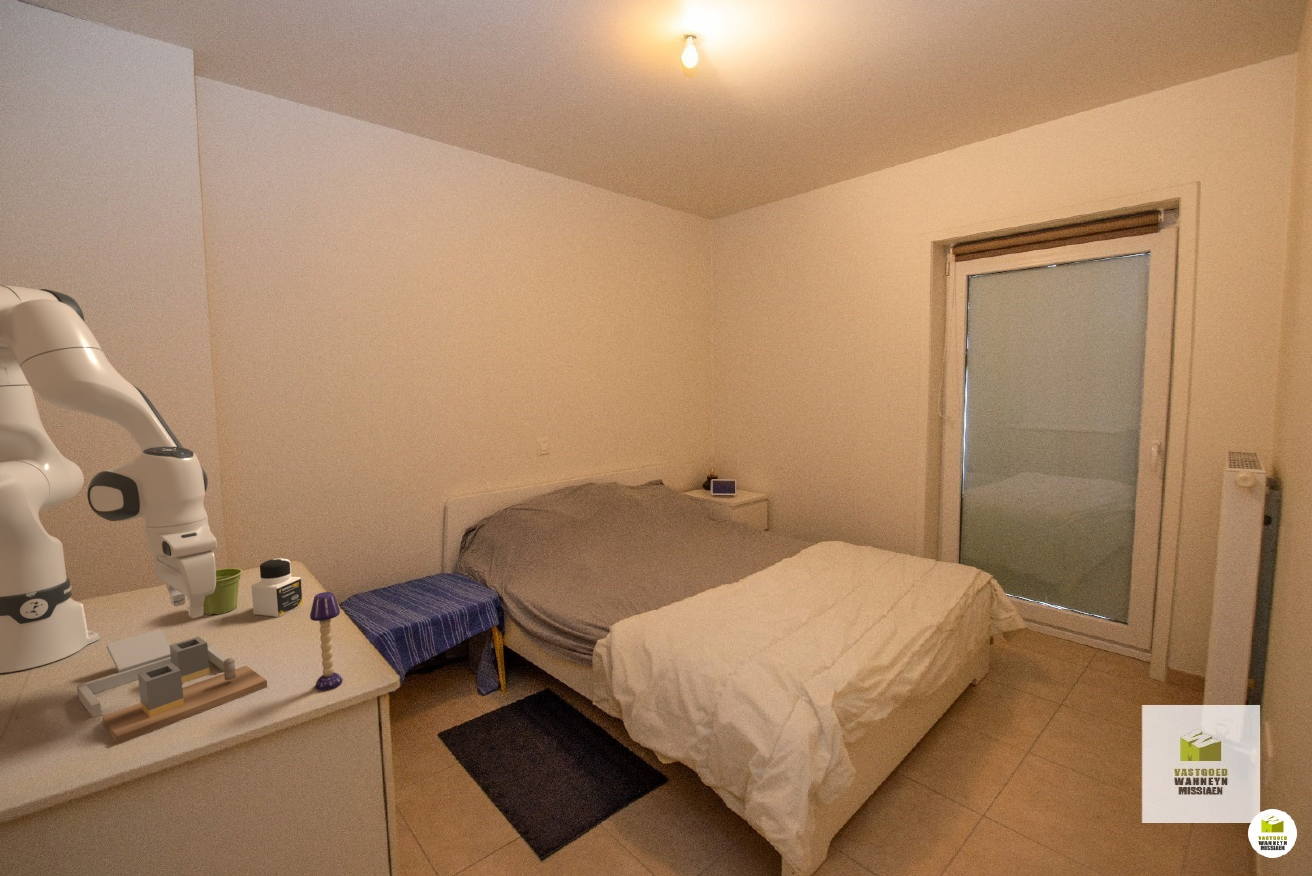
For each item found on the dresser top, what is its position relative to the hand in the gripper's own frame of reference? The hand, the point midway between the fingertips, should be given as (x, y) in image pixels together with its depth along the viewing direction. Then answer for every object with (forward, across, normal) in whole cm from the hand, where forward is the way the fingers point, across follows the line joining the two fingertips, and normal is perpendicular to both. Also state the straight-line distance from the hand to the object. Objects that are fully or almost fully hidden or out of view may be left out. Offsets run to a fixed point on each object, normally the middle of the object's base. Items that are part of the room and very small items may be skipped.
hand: (187, 610), depth 107 cm
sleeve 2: (+12, 0, 0) cm, 12 cm away
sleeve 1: (+11, +11, -7) cm, 17 cm away
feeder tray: (+12, -6, -5) cm, 15 cm away
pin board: (+12, +11, -4) cm, 17 cm away
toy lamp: (+13, +24, +13) cm, 30 cm away
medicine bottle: (+13, -20, +22) cm, 33 cm away
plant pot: (+12, -32, +14) cm, 37 cm away
